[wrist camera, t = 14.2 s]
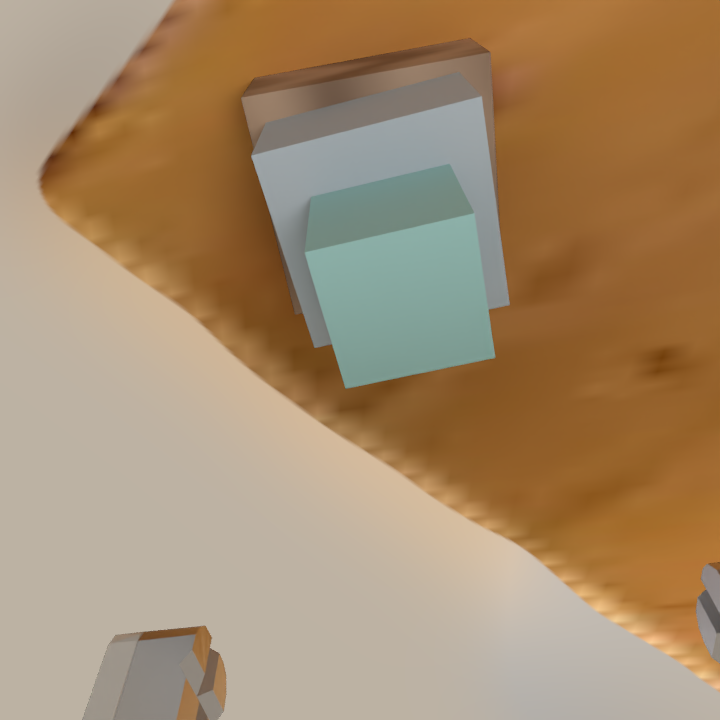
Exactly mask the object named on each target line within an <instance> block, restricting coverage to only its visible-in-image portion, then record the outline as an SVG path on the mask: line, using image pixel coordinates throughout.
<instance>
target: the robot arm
mask: <svg viewBox="0 0 720 720" xmlns="http://www.w3.org/2000/svg"><path fill="white" fill-rule="evenodd" d="M701 580H702V582H703V584H704V586H705V587H706V590H705V591H704V592H703V593H702V594H701V595H700V596H698V599H697V607H696V614H697V620H698V625H699V630H700V632H701V635H702V638H703V641H704V643H705V645H706V647H707V649H708V651H709V653H710V655H711V657H712V658H713V659H714V660H716V661H717V662H719V663H720V562H717V563H709V564H707V565H706V566H705V567H704V568H703V571H702V576H701ZM211 639H212V637H211V635H210V633H209V631H208V630H207V628H206V626H197V627H188V628H178V629H168V630H158V631H148V632H137V633H130V634H121V635H115V637H114V638H113V639H112V641H111V642H110V643H109V645H108V647H107V650H106V653H105V656H104V659H103V661H102V664H101V667H100V670H99V673H98V676H97V679H96V681H95V684H94V687H93V690H92V693H91V696H90V699H89V702H88V704H87V707H86V710H85V713H84V716H83V719H82V720H217V719H218V718H219V717H220V716H221V714H222V713H223V711H224V706H225V699H226V672H225V668H224V663H223V660H222V658H221V656H220V654H219V653H218V652H216V651H214V650H212V649H211V648H210V644H211Z"/></svg>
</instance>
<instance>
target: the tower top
mask: <svg viewBox="0 0 720 720" xmlns="http://www.w3.org/2000/svg"><path fill="white" fill-rule="evenodd" d="M251 157H252V160H253V163H254V166H255V169H256V172H257V175H258V178H259V181H260V184H261V187H262V190H263V193H264V196H265V199H266V202H267V205H268V208H269V211H270V214H271V217H272V220H273V223H274V226H275V230H276V233H277V236H278V239H279V242H280V245H281V248H282V251H283V254H284V257H285V260H286V263H287V266H288V269H289V272H290V275H291V278H292V281H293V284H294V287H295V290H296V293H297V296H298V299H299V302H300V305H301V308H302V311H303V314H304V317H305V320H306V323H307V326H308V329H309V333H310V336H311V339H312V342H313V345H314V348H317V347H322V346H326V345H331V344H332V342H331V339H330V336H329V332H328V329H327V326H326V322H325V319H324V316H323V312H322V309H321V306H320V302H319V299H318V296H317V292H316V289H315V286H314V283H313V279H312V276H311V273H310V269H309V266H308V263H307V259H306V256H305V253H304V252H305V243H306V235H307V227H308V218H309V210H310V202H311V197H312V196H317V195H321V194H325V193H329V192H333V191H337V190H342V189H346V188H350V187H354V186H358V185H362V184H367V183H371V182H375V181H379V180H383V179H388V178H392V177H396V176H400V175H404V174H408V173H413V172H417V171H421V170H425V169H429V168H433V167H438V166H442V165H446V164H450V165H451V167H452V169H453V171H454V173H455V175H456V177H457V179H458V181H459V183H460V185H461V187H462V189H463V191H464V193H465V195H466V197H467V199H468V201H469V203H470V205H471V207H472V209H473V211H474V214H475V221H476V228H477V235H478V242H479V249H480V256H481V262H482V269H483V276H484V283H485V290H486V297H487V304H488V310H489V309H494V308H498V307H503V306H507V305H510V303H509V296H508V288H507V281H506V273H505V266H504V258H503V251H502V244H501V236H500V229H499V221H498V214H497V206H496V199H495V191H494V184H493V177H492V169H491V162H490V154H489V147H488V139H487V132H486V125H485V117H484V110H483V102H482V96H481V95H480V94H479V93H478V92H477V91H476V90H475V89H474V87H473V86H472V85H471V84H470V83H469V82H468V81H467V80H466V79H465V78H464V77H463V76H462V75H461V74H460V72H457V73H453V74H449V75H446V76H442V77H438V78H434V79H430V80H427V81H423V82H419V83H415V84H411V85H407V86H404V87H400V88H396V89H392V90H388V91H385V92H381V93H377V94H373V95H369V96H366V97H362V98H358V99H354V100H350V101H347V102H343V103H339V104H335V105H331V106H328V107H324V108H320V109H316V110H312V111H308V112H305V113H301V114H297V115H293V116H289V117H286V118H282V119H278V120H274V121H270V122H267V123H265V126H264V128H263V130H262V132H261V135H260V137H259V139H258V141H257V144H256V146H255V148H254V150H253V153H252V155H251Z"/></svg>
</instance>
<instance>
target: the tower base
mask: <svg viewBox="0 0 720 720" xmlns="http://www.w3.org/2000/svg"><path fill="white" fill-rule="evenodd" d="M457 72H460V74H461V75H462V76H463V77H464V78H465V79H466V80H467V81H468V82H469V83H470V84H471V85H472V86H473V87H474V89H475V90H476V91H477V92H478V93H479V94H480V95H481V96H482V102H483V110H484V117H485V125H486V132H487V139H488V147H489V154H490V162H491V169H492V177H493V184H494V191H495V199H496V206H497V214H498V221H499V204H498V185H497V167H496V148H495V129H494V110H493V91H492V72H491V53H490V51H488V50H487V49H485V48H484V47H482V46H481V45H479V44H478V43H477V42H475V41H474V40H472V39H471V38H468V39H463V40H457V41H452V42H446V43H441V44H436V45H430V46H425V47H419V48H414V49H409V50H403V51H398V52H392V53H387V54H381V55H376V56H371V57H365V58H360V59H354V60H349V61H344V62H338V63H333V64H327V65H322V66H317V67H311V68H306V69H300V70H295V71H290V72H284V73H279V74H273V75H268V76H263V77H257V78H254V79H253V81H252V82H251V84H250V85H249V87H248V88H247V90H246V91H245V93H244V94H243V96H242V97H241V100H242V104H243V108H244V112H245V116H246V120H247V124H248V128H249V132H250V136H251V140H252V144H253V148H255V146H256V144H257V141H258V139H259V137H260V135H261V132H262V130H263V128H264V126H265V123H267V122H270V121H274V120H278V119H282V118H286V117H289V116H293V115H297V114H301V113H305V112H308V111H312V110H316V109H320V108H324V107H328V106H331V105H335V104H339V103H343V102H347V101H350V100H354V99H358V98H362V97H366V96H369V95H373V94H377V93H381V92H385V91H388V90H392V89H396V88H400V87H404V86H407V85H411V84H415V83H419V82H423V81H427V80H430V79H434V78H438V77H442V76H446V75H449V74H453V73H457ZM269 212H270V211H269ZM270 216H271V214H270ZM271 220H272V217H271ZM272 224H273V228H274V232H275V236H276V240H277V244H278V248H279V252H280V256H281V260H282V264H283V268H284V272H285V276H286V280H287V284H288V288H289V292H290V296H291V300H292V304H293V308H294V312H295V314H302V313H303V311H302V308H301V305H300V302H299V299H298V296H297V293H296V290H295V287H294V284H293V281H292V278H291V275H290V272H289V269H288V266H287V263H286V260H285V257H284V254H283V251H282V248H281V245H280V242H279V239H278V236H277V233H276V230H275V226H274V223H273V220H272ZM499 229H500V223H499Z"/></svg>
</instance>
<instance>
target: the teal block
mask: <svg viewBox="0 0 720 720" xmlns="http://www.w3.org/2000/svg"><path fill="white" fill-rule="evenodd" d="M304 253H305V256H306V259H307V263H308V266H309V269H310V273H311V276H312V279H313V283H314V286H315V289H316V292H317V296H318V299H319V302H320V306H321V309H322V312H323V316H324V319H325V322H326V326H327V329H328V332H329V336H330V339H331V342H332V345H333V349H334V352H335V355H336V359H337V362H338V365H339V369H340V372H341V375H342V379H343V382H344V385H345V389H347V388H352V387H357V386H362V385H366V384H371V383H376V382H381V381H386V380H391V379H395V378H400V377H405V376H410V375H415V374H420V373H424V372H429V371H434V370H439V369H444V368H449V367H453V366H458V365H463V364H468V363H473V362H478V361H482V360H487V359H492V358H495V352H494V345H493V338H492V332H491V325H490V318H489V311H488V304H487V297H486V290H485V283H484V276H483V269H482V262H481V256H480V249H479V242H478V235H477V228H476V221H475V214H474V211H473V209H472V207H471V205H470V203H469V201H468V199H467V197H466V195H465V193H464V191H463V189H462V187H461V185H460V183H459V181H458V179H457V177H456V175H455V173H454V171H453V169H452V167H451V165H450V164H446V165H442V166H438V167H433V168H429V169H425V170H421V171H417V172H413V173H408V174H404V175H400V176H396V177H392V178H388V179H383V180H379V181H375V182H371V183H367V184H362V185H358V186H354V187H350V188H346V189H342V190H337V191H333V192H329V193H325V194H321V195H317V196H312V197H311V202H310V210H309V218H308V227H307V235H306V243H305V252H304Z"/></svg>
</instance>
